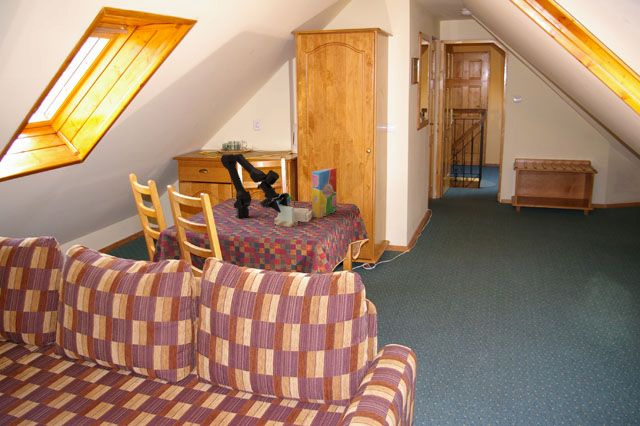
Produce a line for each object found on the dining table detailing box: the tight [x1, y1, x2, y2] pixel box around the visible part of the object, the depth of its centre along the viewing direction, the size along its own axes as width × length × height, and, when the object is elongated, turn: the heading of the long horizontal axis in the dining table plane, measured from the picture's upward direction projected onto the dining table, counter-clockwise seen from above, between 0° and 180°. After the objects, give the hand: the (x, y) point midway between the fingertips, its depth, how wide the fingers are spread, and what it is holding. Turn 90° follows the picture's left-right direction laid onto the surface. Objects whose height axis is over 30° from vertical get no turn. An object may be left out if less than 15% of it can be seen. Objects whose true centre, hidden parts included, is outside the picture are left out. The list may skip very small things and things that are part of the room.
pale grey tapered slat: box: [277, 205, 295, 225], centre depth 322 cm, size 10×2×10 cm, turn 55°
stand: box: [273, 220, 299, 228], centre depth 323 cm, size 12×6×2 cm, turn 55°
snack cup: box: [276, 193, 296, 207], centre depth 354 cm, size 16×10×10 cm
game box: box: [311, 167, 338, 219], centre depth 344 cm, size 21×6×27 cm, turn 149°
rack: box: [274, 207, 313, 223], centre depth 336 cm, size 20×12×5 cm, turn 80°
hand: (284, 211), depth 323 cm, fingers open, 7 cm apart
